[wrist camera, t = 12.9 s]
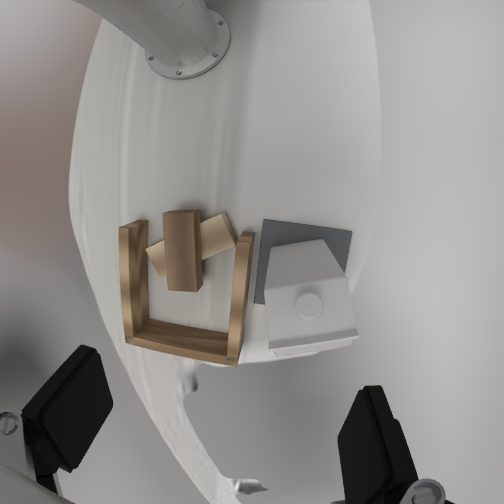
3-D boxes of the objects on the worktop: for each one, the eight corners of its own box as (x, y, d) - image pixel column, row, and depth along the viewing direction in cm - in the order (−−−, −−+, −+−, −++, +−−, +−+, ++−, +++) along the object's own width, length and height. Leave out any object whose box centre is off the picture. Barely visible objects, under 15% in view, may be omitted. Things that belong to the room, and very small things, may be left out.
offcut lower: (154, 244, 42) (145, 249, 39) (225, 211, 39) (221, 214, 37) (167, 270, 43) (159, 277, 40) (239, 240, 40) (235, 246, 37)
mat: (263, 219, 39) (263, 219, 38) (351, 231, 38) (352, 231, 37) (253, 301, 42) (253, 303, 41) (335, 311, 41) (335, 312, 41)
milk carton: (329, 287, 40) (359, 371, 21) (279, 295, 41) (275, 383, 23) (323, 238, 38) (357, 295, 20) (270, 246, 39) (260, 310, 21)
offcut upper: (175, 282, 40) (168, 290, 37) (170, 210, 37) (162, 213, 34) (202, 284, 39) (197, 292, 36) (199, 210, 37) (193, 212, 34)
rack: (139, 219, 40) (118, 227, 35) (254, 233, 39) (249, 243, 33) (141, 324, 45) (125, 342, 39) (242, 343, 44) (236, 366, 38)
